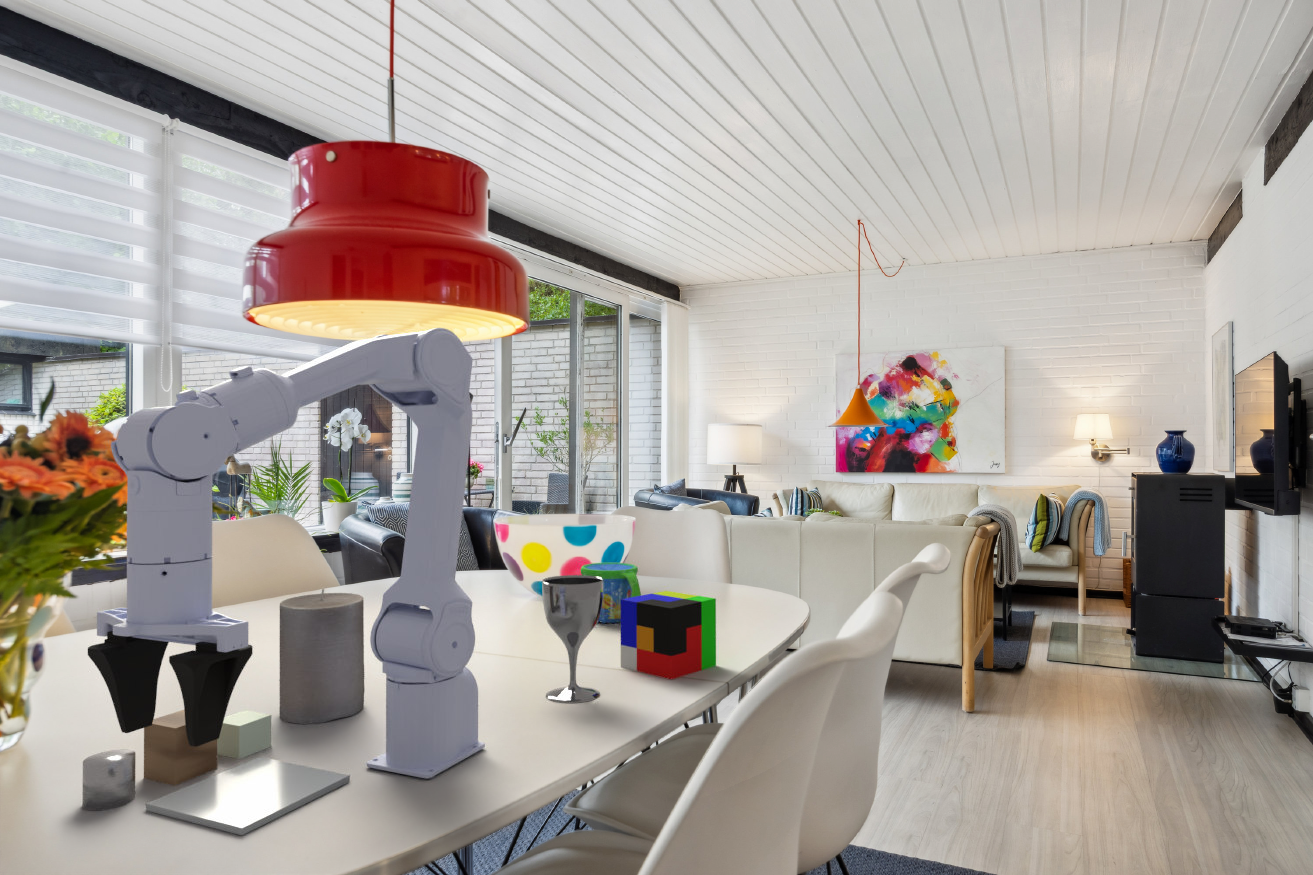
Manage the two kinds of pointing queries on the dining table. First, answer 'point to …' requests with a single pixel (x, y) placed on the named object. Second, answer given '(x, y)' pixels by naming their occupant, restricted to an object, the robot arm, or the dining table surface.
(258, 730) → the sage box
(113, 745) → the dining table surface
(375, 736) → the dining table surface
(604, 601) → the snack cup
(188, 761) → the walnut block
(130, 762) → the grey cylinder
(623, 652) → the puzzle toy
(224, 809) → the slate tile
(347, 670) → the pillar candle
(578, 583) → the wine glass
